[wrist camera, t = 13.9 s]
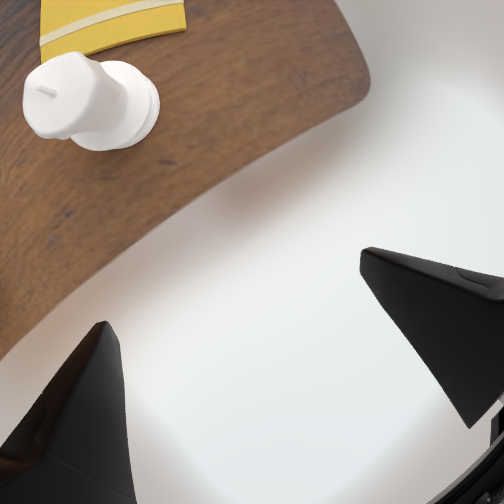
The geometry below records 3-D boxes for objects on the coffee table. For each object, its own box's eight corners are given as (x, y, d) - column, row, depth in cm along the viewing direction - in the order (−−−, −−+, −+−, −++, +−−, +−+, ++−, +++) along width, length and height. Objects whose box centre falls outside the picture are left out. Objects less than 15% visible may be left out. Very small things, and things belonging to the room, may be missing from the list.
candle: (68, 126, 14) (-45, 147, 4) (113, 58, 13) (47, -18, 3) (130, 162, 17) (77, 227, 6) (176, 95, 16) (191, 50, 5)
